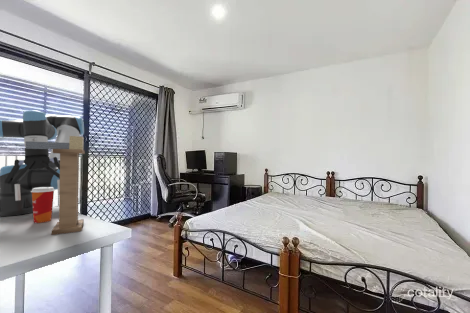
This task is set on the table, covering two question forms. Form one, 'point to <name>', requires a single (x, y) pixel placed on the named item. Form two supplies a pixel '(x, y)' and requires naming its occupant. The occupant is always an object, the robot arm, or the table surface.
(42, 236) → the table surface
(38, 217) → the paper cup
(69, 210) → the stand
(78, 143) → the gray and beige block
